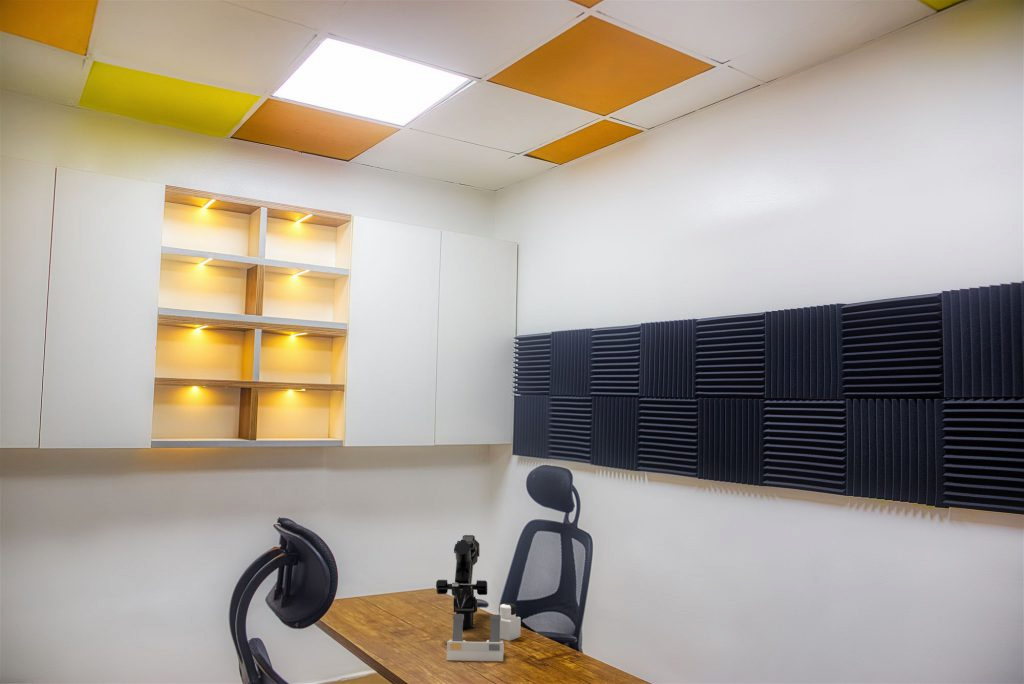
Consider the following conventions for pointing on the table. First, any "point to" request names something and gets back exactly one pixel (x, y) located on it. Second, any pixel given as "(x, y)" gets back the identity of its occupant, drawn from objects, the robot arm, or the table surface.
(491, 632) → the lever
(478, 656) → the switch box
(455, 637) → the lever
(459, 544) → the robot arm
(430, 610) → the table surface
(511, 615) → the medicine bottle
